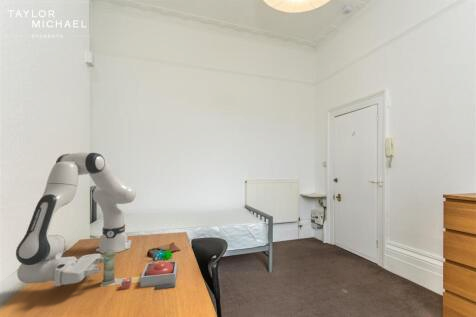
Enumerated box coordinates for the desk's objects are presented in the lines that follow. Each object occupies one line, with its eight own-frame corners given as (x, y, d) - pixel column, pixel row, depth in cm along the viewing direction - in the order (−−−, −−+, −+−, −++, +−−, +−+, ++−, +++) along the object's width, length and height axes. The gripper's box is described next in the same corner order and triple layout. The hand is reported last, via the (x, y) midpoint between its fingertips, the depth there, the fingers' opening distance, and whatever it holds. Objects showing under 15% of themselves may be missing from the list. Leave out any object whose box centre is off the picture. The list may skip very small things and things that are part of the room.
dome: (149, 271, 104) (149, 258, 104) (173, 269, 106) (173, 256, 106) (144, 283, 93) (144, 269, 93) (171, 281, 95) (172, 266, 96)
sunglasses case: (154, 259, 121) (151, 247, 124) (148, 263, 125) (145, 251, 127) (181, 249, 135) (178, 239, 137) (176, 253, 139) (172, 243, 141)
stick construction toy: (154, 261, 113) (153, 246, 118) (146, 267, 116) (146, 252, 121) (174, 261, 122) (172, 247, 126) (166, 266, 125) (165, 252, 129)
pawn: (104, 280, 97) (105, 248, 98) (116, 279, 98) (117, 247, 99) (100, 285, 92) (101, 252, 93) (112, 284, 93) (113, 251, 94)
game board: (107, 276, 102) (108, 265, 102) (177, 270, 109) (177, 259, 109) (92, 296, 87) (93, 283, 87) (175, 287, 93) (175, 275, 93)
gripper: (79, 265, 102) (112, 262, 105) (52, 289, 82) (93, 284, 85) (80, 251, 102) (112, 248, 105) (52, 271, 82) (94, 267, 85)
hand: (104, 265), depth 95 cm, fingers open, 8 cm apart
